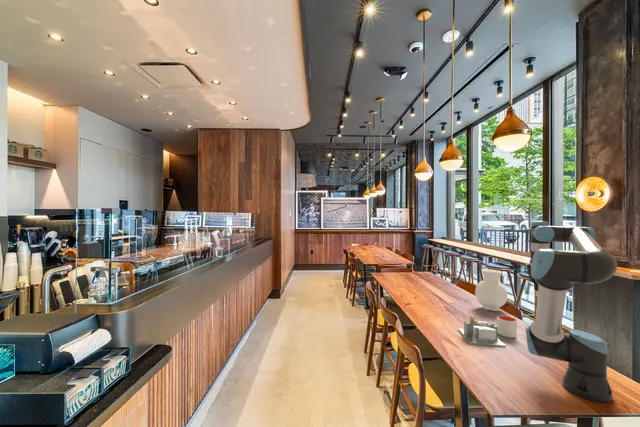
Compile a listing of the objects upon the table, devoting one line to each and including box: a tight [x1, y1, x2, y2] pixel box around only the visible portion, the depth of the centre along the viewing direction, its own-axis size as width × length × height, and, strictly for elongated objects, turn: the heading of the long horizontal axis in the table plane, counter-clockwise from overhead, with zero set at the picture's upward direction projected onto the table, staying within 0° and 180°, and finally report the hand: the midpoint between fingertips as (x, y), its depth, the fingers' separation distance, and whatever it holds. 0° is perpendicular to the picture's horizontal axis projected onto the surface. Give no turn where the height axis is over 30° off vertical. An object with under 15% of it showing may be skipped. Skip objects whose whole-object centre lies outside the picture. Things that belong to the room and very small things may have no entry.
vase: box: [474, 268, 508, 312], centre depth 222 cm, size 19×21×30 cm
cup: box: [496, 315, 518, 339], centre depth 174 cm, size 10×10×10 cm
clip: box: [469, 314, 478, 324], centre depth 170 cm, size 4×2×4 cm, turn 171°
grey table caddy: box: [457, 320, 507, 348], centre depth 169 cm, size 20×18×9 cm
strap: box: [474, 323, 493, 328], centre depth 169 cm, size 3×12×1 cm, turn 81°
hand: (538, 296), depth 149 cm, fingers closed
